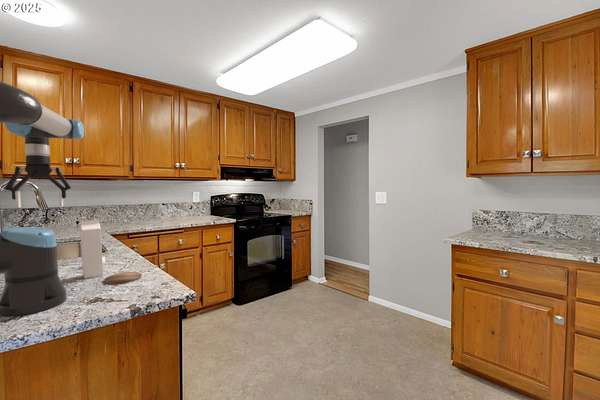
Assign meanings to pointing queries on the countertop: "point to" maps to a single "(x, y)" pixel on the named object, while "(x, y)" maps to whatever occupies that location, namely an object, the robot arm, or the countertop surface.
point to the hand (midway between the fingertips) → (40, 206)
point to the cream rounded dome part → (103, 260)
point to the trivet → (122, 278)
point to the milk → (91, 248)
